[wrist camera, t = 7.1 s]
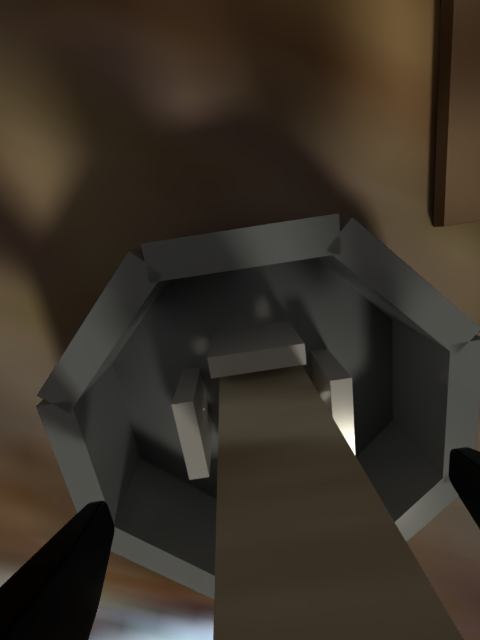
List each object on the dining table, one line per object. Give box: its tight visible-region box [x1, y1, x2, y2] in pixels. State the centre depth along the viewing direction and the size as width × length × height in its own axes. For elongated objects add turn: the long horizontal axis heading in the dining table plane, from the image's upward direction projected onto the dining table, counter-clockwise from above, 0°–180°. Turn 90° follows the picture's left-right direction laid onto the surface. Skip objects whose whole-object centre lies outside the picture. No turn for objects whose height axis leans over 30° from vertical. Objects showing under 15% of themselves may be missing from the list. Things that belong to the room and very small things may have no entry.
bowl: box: [36, 213, 480, 599], centre depth 11 cm, size 13×13×4 cm
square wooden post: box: [213, 365, 464, 640], centre depth 8 cm, size 3×3×10 cm
